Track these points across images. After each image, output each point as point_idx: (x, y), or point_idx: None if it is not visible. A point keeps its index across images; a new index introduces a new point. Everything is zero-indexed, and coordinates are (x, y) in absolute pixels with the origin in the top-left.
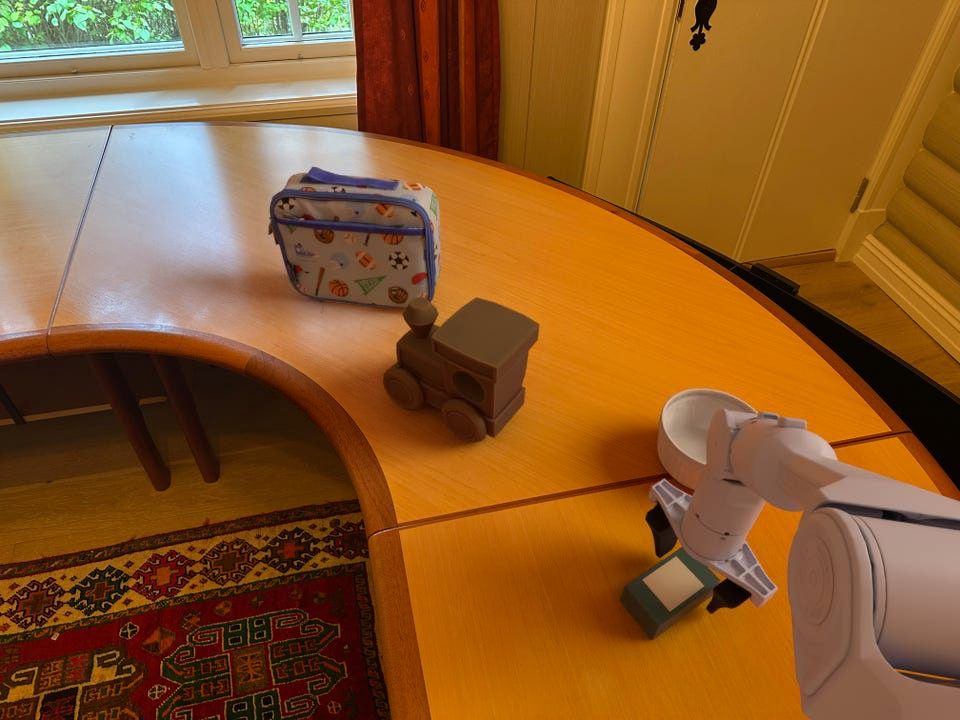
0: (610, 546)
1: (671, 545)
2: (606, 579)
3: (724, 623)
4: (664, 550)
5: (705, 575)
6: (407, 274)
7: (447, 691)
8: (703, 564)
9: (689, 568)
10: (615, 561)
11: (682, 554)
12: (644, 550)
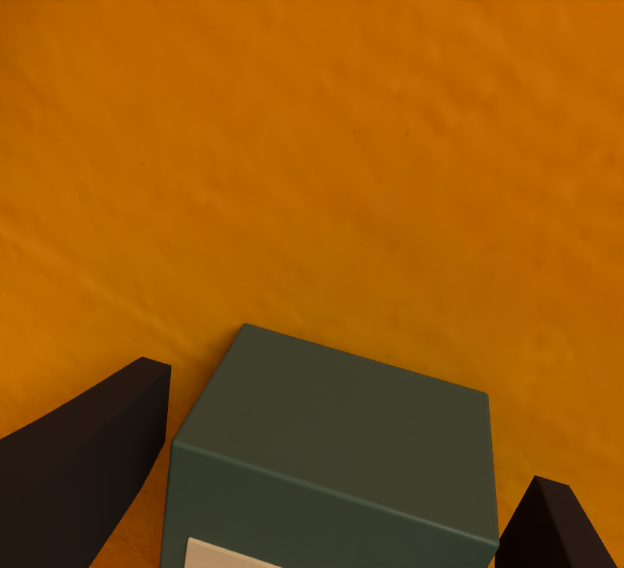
0: (15, 428)
1: (132, 437)
2: (115, 538)
3: (605, 471)
4: (133, 472)
5: (396, 563)
6: None
7: None
8: (344, 510)
9: (293, 564)
10: None
11: (205, 510)
12: (107, 366)
